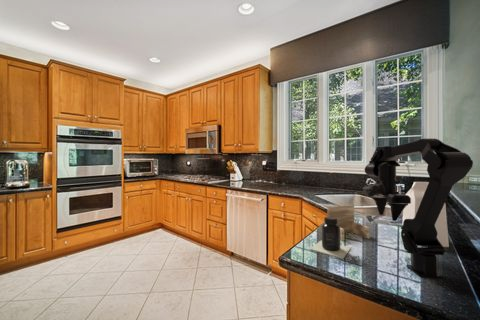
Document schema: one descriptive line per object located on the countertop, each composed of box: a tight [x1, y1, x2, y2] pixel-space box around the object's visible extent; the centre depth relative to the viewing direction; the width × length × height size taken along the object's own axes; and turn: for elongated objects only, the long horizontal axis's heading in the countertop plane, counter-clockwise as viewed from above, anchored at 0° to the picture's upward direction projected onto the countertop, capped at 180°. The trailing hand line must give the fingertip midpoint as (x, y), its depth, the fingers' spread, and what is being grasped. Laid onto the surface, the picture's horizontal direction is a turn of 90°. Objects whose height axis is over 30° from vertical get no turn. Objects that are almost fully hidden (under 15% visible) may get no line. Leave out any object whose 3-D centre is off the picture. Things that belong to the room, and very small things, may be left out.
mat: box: [310, 240, 352, 260], centre depth 84 cm, size 12×12×1 cm
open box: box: [326, 204, 370, 241], centre depth 100 cm, size 11×14×13 cm
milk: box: [401, 181, 450, 248], centre depth 94 cm, size 12×12×26 cm
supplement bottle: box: [321, 216, 341, 251], centre depth 84 cm, size 7×7×12 cm
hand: (387, 217), depth 83 cm, fingers open, 9 cm apart
